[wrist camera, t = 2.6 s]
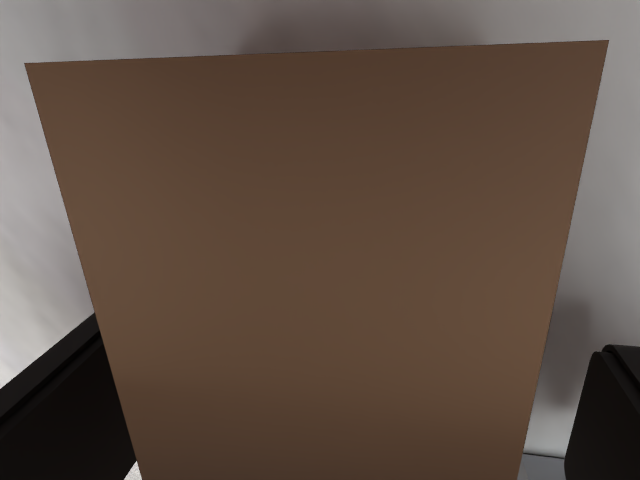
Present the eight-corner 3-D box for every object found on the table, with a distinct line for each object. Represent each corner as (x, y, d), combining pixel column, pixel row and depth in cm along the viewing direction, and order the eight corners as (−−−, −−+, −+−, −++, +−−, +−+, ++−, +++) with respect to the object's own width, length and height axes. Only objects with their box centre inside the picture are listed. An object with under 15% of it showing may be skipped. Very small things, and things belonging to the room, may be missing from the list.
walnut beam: (237, 57, 8) (24, 63, 4) (486, 47, 7) (608, 39, 3) (281, 491, 13) (212, 726, 8) (436, 516, 12) (451, 792, 8)
